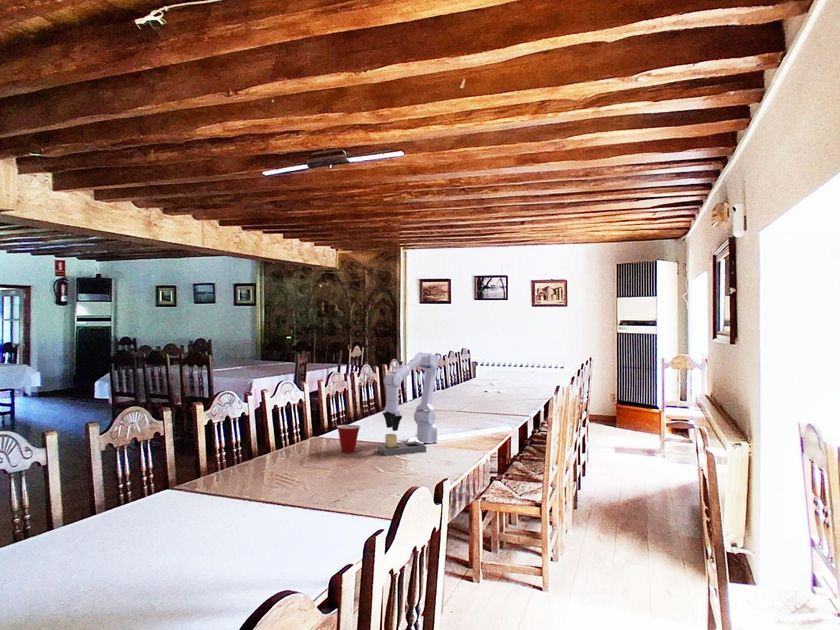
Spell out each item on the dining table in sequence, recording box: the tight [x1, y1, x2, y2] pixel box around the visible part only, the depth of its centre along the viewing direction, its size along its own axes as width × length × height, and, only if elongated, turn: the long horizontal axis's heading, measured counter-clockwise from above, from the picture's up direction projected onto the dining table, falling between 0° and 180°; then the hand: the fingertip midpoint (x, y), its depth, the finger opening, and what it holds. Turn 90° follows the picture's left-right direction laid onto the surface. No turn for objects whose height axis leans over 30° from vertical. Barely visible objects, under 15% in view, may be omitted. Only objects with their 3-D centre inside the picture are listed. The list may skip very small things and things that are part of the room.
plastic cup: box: [336, 424, 361, 454], centre depth 246 cm, size 11×11×12 cm
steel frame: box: [377, 441, 427, 456], centre depth 247 cm, size 20×10×2 cm, turn 113°
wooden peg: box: [384, 433, 398, 449], centre depth 245 cm, size 4×4×8 cm
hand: (392, 429), depth 249 cm, fingers open, 7 cm apart
